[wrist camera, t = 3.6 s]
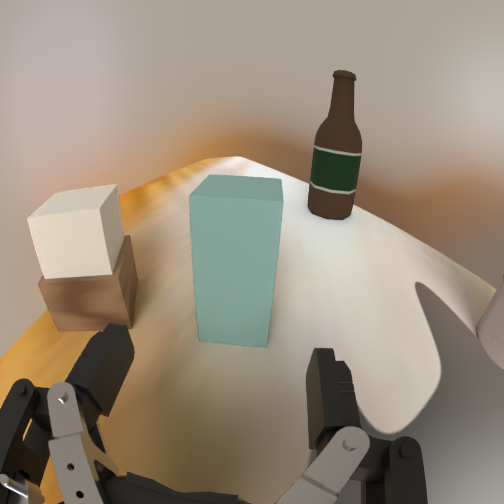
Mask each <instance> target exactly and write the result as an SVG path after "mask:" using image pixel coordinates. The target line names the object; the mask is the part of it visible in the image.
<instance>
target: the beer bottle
mask: <svg viewBox="0 0 504 504" xmlns="http://www.w3.org/2000/svg"><path fill="white" fill-rule="evenodd" d="M333 77H334V84H333V92H332V99H331V106H330V110H329V114H328V117H327V118H326V119H325V120H324V122H323V123H322V124H321V125H320V127H319V129H318V131H317V133H316V137H315V143H314V152H313V160H312V169H311V177H310V186H309V194H308V208H309V210H310V211H311V213H312V214H314V215H317V216H320V217H323V218H325V219H334V220H344V219H345V218H347V217H349V216H350V215H351V211H352V207H353V203H354V197H355V192H356V186H357V180H358V173H359V167H360V161H361V154H362V153H361V152H362V139H361V135H360V131H359V129H358V127H357V125H356V123H355V120H354V81H355V80H356V76H355V74H353V73H352V72H349V71H345V70H337V71H334V73H333Z"/></svg>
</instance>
